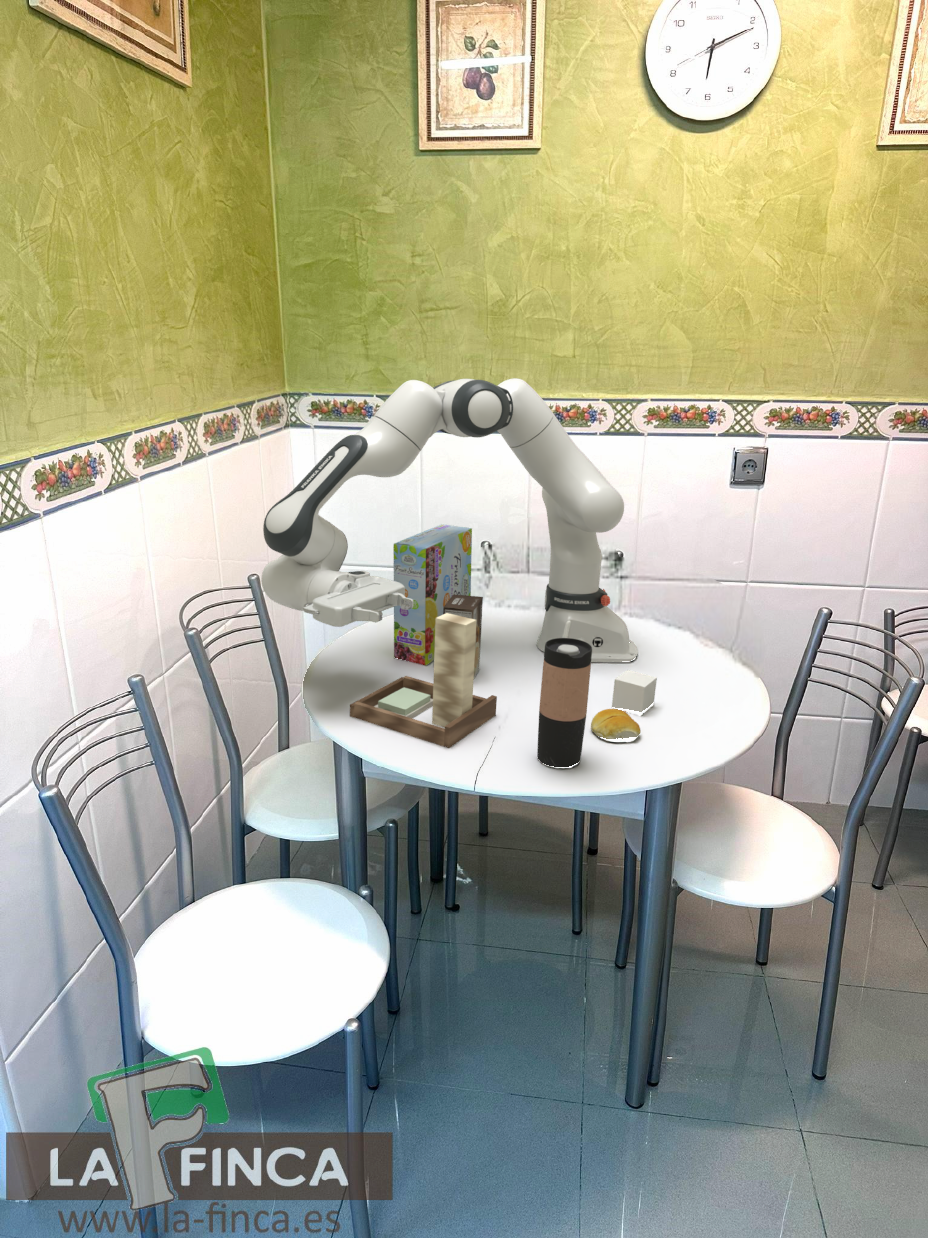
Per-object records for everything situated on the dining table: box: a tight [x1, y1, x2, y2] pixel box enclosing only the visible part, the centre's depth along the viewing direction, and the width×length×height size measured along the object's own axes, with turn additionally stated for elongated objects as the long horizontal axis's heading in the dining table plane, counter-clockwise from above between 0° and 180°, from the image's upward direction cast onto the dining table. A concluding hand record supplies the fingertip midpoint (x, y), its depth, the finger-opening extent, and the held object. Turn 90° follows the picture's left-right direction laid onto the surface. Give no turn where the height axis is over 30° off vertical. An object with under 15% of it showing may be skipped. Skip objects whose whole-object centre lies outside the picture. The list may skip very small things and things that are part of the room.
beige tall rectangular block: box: [431, 613, 477, 728], centre depth 147 cm, size 6×4×20 cm, turn 59°
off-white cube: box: [611, 669, 658, 712], centre depth 160 cm, size 6×6×6 cm
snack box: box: [393, 523, 473, 667], centre depth 183 cm, size 22×9×26 cm, turn 154°
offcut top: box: [378, 687, 430, 716], centre depth 154 cm, size 6×8×1 cm
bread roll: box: [590, 708, 641, 739], centre depth 150 cm, size 8×9×4 cm
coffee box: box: [443, 594, 484, 680], centre depth 169 cm, size 9×6×16 cm
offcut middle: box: [374, 698, 433, 719], centre depth 155 cm, size 7×10×1 cm
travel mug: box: [536, 638, 592, 767], centre depth 137 cm, size 8×8×20 cm
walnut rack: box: [349, 675, 498, 749], centre depth 152 cm, size 21×16×4 cm
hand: (396, 610), depth 150 cm, fingers open, 8 cm apart
